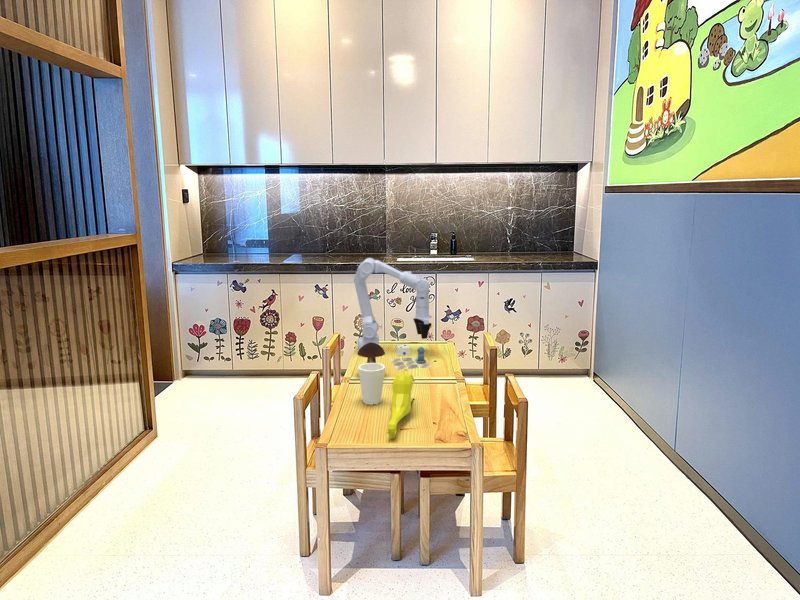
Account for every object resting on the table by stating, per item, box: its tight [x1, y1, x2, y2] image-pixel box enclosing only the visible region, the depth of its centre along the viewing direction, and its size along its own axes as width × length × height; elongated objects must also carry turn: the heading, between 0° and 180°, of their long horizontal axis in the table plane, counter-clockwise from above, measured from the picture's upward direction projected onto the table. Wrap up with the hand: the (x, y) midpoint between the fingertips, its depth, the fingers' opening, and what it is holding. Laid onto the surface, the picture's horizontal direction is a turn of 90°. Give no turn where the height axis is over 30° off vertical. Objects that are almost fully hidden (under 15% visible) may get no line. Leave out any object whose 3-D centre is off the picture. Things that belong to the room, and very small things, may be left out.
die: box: [395, 344, 411, 357], centre depth 255 cm, size 5×5×5 cm
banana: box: [386, 369, 416, 440], centre depth 188 cm, size 7×20×35 cm
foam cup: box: [357, 362, 386, 406], centre depth 202 cm, size 10×9×13 cm
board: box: [389, 356, 432, 370], centre depth 243 cm, size 15×15×1 cm
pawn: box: [415, 346, 427, 364], centre depth 243 cm, size 4×4×7 cm
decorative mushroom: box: [356, 342, 386, 363], centre depth 225 cm, size 11×11×15 cm
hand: (422, 336), depth 252 cm, fingers open, 7 cm apart
